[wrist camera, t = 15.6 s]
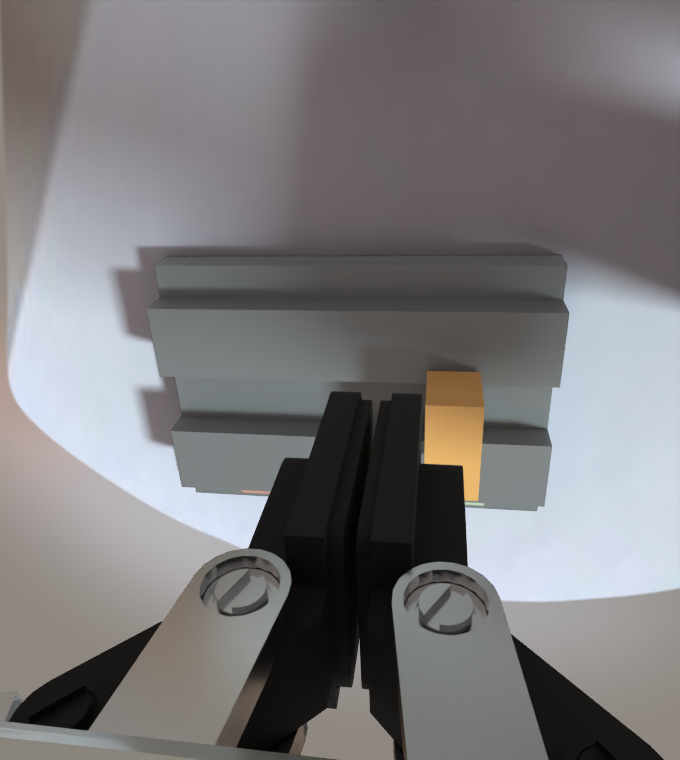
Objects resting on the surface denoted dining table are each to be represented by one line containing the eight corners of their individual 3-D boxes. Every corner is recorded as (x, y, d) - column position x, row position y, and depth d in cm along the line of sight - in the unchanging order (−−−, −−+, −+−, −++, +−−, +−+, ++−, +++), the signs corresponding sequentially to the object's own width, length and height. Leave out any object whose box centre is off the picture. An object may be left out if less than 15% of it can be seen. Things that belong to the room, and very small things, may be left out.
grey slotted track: (561, 255, 36) (574, 277, 33) (533, 492, 44) (541, 531, 40) (166, 256, 40) (139, 276, 36) (205, 475, 48) (186, 509, 44)
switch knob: (478, 356, 37) (484, 407, 32) (473, 442, 40) (478, 501, 35) (427, 355, 38) (425, 405, 32) (426, 440, 40) (423, 498, 35)
